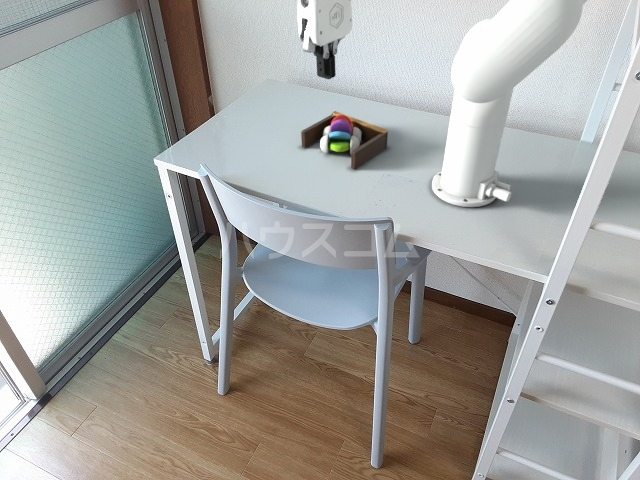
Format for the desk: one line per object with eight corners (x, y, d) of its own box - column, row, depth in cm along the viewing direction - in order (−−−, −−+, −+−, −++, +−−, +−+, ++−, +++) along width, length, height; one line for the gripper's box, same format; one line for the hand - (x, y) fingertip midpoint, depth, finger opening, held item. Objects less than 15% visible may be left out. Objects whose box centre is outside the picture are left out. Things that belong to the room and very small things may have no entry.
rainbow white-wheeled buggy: (362, 138, 118) (363, 109, 113) (357, 160, 110) (358, 129, 106) (325, 136, 119) (325, 107, 114) (318, 158, 112) (317, 127, 107)
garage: (387, 148, 114) (388, 130, 111) (354, 170, 108) (355, 151, 105) (335, 128, 122) (335, 110, 119) (301, 147, 115) (300, 129, 112)
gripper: (309, -19, 80) (315, 94, 91) (367, -38, 88) (366, 68, 100) (274, -25, 84) (284, 85, 95) (333, -42, 92) (335, 60, 104)
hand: (326, 76), depth 97 cm, fingers closed
